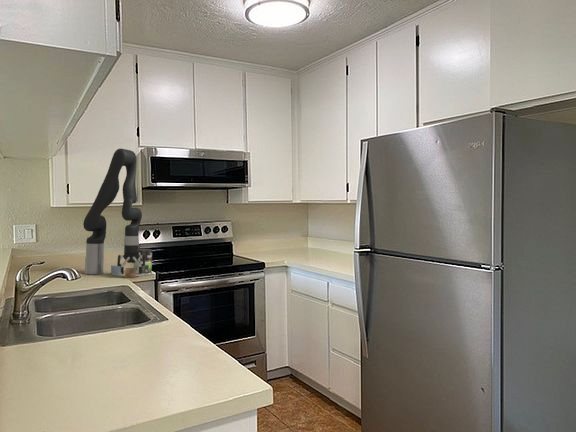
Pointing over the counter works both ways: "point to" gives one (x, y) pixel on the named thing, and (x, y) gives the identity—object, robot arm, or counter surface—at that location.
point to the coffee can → (148, 262)
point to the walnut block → (130, 272)
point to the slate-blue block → (115, 270)
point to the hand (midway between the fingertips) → (131, 273)
